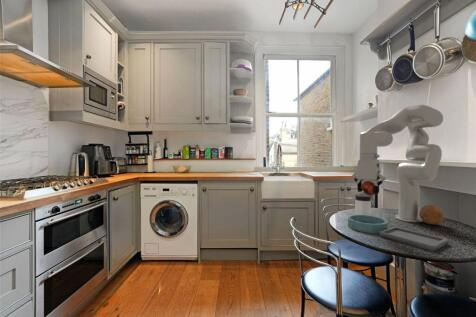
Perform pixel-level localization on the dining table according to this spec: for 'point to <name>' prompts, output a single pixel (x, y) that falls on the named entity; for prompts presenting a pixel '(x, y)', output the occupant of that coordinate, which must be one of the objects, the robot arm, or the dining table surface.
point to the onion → (431, 214)
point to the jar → (362, 204)
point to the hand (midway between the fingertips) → (367, 192)
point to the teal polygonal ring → (367, 223)
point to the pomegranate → (368, 188)
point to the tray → (414, 238)
